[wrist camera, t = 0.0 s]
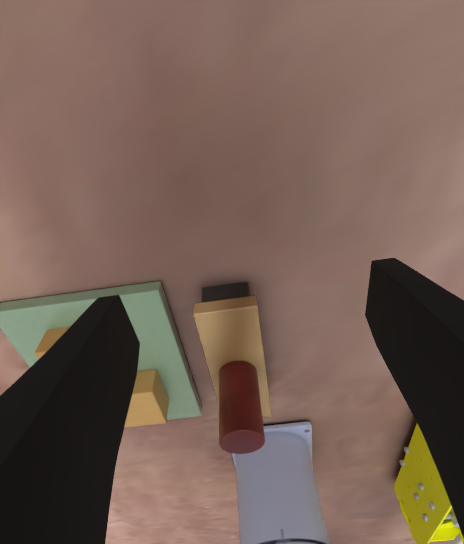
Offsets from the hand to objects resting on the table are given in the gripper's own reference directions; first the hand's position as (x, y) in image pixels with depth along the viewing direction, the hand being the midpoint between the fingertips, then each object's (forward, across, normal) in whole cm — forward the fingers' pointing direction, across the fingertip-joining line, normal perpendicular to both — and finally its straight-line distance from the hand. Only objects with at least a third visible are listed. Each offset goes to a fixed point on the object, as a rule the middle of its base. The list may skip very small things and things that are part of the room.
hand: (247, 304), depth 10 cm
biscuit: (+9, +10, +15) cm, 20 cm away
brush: (+10, +2, +12) cm, 16 cm away
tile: (+10, +11, +13) cm, 20 cm away
